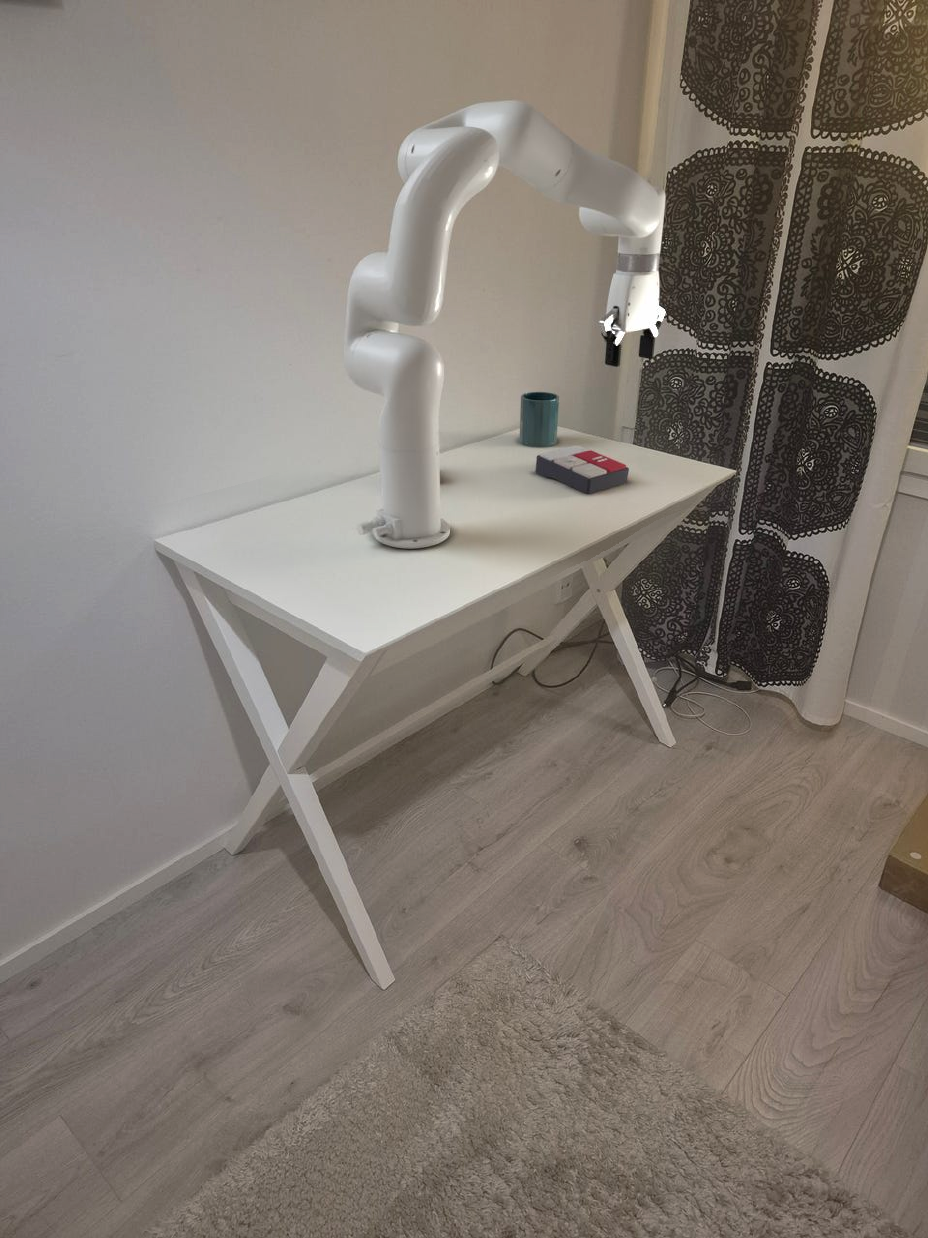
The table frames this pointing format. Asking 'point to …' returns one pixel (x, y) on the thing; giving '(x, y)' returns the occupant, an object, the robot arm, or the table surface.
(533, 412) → the pen pot
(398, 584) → the table surface
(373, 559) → the table surface
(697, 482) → the table surface
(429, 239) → the robot arm
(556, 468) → the button box
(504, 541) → the table surface
